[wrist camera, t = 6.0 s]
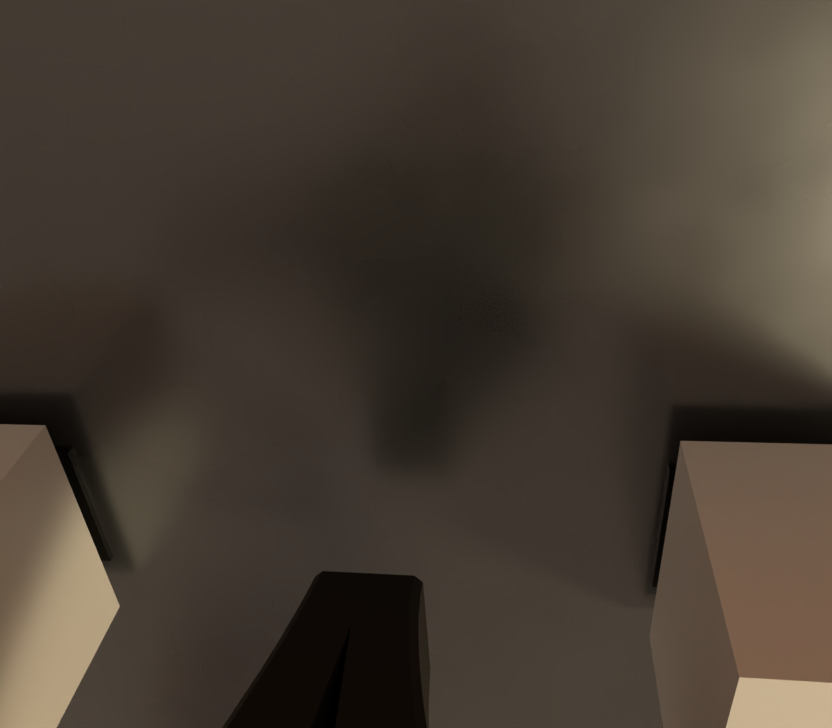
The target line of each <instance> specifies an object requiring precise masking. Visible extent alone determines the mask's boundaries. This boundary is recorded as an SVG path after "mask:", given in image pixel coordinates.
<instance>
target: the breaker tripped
mask: <svg viewBox="0 0 832 728" xmlns="http://www.w3.org/2000/svg"><path fill="white" fill-rule="evenodd" d="M119 607H120V606H119V603H118V601H117V598H116V596H115V593H114V591H113V588H112V586H111V584H110V581H109V579H108V576H107V574H106V571H105V569H104V567H103V564H102V562H101V559H100V557H99V554H98V552H97V550H96V547H95V545H94V542H93V540H92V537H91V535H90V532H89V530H88V528H87V525H86V523H85V520H84V518H83V515H82V513H81V511H80V508H79V506H78V503H77V501H76V498H75V496H74V493H73V491H72V489H71V486H70V484H69V481H68V479H67V476H66V474H65V472H64V469H63V467H62V464H61V462H60V459H59V457H58V455H57V452H56V450H55V447H54V445H53V442H52V440H51V437H50V435H49V433H48V430H47V428H46V425H14V424H0V728H57V726H58V724H59V722H60V720H61V718H62V716H63V714H64V713H65V711H66V709H67V707H68V705H69V703H70V701H71V699H72V697H73V695H74V693H75V691H76V689H77V688H78V686H79V684H80V682H81V680H82V678H83V676H84V674H85V672H86V670H87V668H88V666H89V665H90V663H91V661H92V659H93V657H94V655H95V653H96V651H97V649H98V647H99V645H100V643H101V641H102V640H103V638H104V636H105V634H106V632H107V630H108V628H109V626H110V624H111V622H112V620H113V618H114V617H115V615H116V613H117V611H118V609H119Z"/></svg>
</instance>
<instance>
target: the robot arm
mask: <svg viewBox="0 0 832 728" xmlns="http://www.w3.org/2000/svg"><path fill="white" fill-rule="evenodd" d="M429 686H430V657H429V646H428V634H427V622H426V611H425V599H424V588H423V582H422V581H421V580H419V579H418V578H417V577H415V576H414V575H394V574H373V573H353V572H333V571H322V572H320V573H319V574H318V575H317V576H315V578H314V580H313V582H312V583H311V585H310V587H309V589H308V591H307V593H306V595H305V596H304V598H303V600H302V602H301V604H300V605H299V607H298V609H297V611H296V612H295V614H294V616H293V618H292V619H291V621H290V623H289V624H288V626H287V628H286V629H285V631H284V633H283V634H282V636H281V638H280V639H279V641H278V643H277V644H276V646H275V648H274V649H273V651H272V652H271V654H270V656H269V657H268V659H267V660H266V662H265V664H264V665H263V667H262V668H261V670H260V671H259V673H258V674H257V676H256V677H255V679H254V680H253V682H252V683H251V685H250V686H249V688H248V689H247V691H246V692H245V694H244V695H243V697H242V698H241V700H240V701H239V703H238V705H237V706H236V708H235V709H234V711H233V712H232V714H231V715H230V717H229V718H228V720H227V721H226V722H225V724H224V725H223V727H222V728H429Z"/></svg>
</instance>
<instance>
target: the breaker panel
mask: <svg viewBox="0 0 832 728" xmlns="http://www.w3.org/2000/svg"><path fill="white" fill-rule="evenodd" d="M0 424H14V425H46V428H47V430H48V433H49V435H50V437H51V440H52V442H53V445H54V447H55V450H56V452H57V455H58V457H59V459H60V462H61V464H62V467H63V469H64V472H65V474H66V476H67V479H68V481H69V484H70V486H71V489H72V491H73V493H74V496H75V498H76V501H77V503H78V506H79V508H80V511H81V513H82V515H83V518H84V520H85V523H86V525H87V528H88V530H89V532H90V535H91V537H92V540H93V542H94V545H95V547H96V550H97V552H98V554H99V557H100V559H101V562H102V564H103V567H104V569H105V571H106V574H107V576H108V579H109V581H110V584H111V586H112V588H113V591H114V593H115V596H116V598H117V601H118V603H119V606H120V607H119V609H118V611H117V613H116V615H115V617H114V618H113V620H112V622H111V624H110V626H109V628H108V630H107V632H106V634H105V636H104V638H103V640H102V641H101V643H100V645H99V647H98V649H97V651H96V653H95V655H94V657H93V659H92V661H91V663H90V665H89V666H88V668H87V670H86V672H85V674H84V676H83V678H82V680H81V682H80V684H79V686H78V688H77V689H76V691H75V693H74V695H73V697H72V699H71V701H70V703H69V705H68V707H67V709H66V711H65V713H64V714H63V716H62V718H61V720H60V722H59V724H58V726H57V728H222V727H223V725H224V724H225V722H226V721H227V720H228V718H229V717H230V715H231V714H232V712H233V711H234V709H235V708H236V706H237V705H238V703H239V701H240V700H241V698H242V697H243V695H244V694H245V692H246V691H247V689H248V688H249V686H250V685H251V683H252V682H253V680H254V679H255V677H256V676H257V674H258V673H259V671H260V670H261V668H262V667H263V665H264V664H265V662H266V660H267V659H268V657H269V656H270V654H271V652H272V651H273V649H274V648H275V646H276V644H277V643H278V641H279V639H280V638H281V636H282V634H283V633H284V631H285V629H286V628H287V626H288V624H289V623H290V621H291V619H292V618H293V616H294V614H295V612H296V611H297V609H298V607H299V605H300V604H301V602H302V600H303V598H304V596H305V595H306V593H307V591H308V589H309V587H310V585H311V583H312V582H313V580H314V578H315V576H317V575H318V574H319V573H320V572H322V571H333V572H353V573H373V574H394V575H414V576H415V577H417V578H418V579H419V580H421V581H422V582H423V588H424V599H425V611H426V622H427V634H428V646H429V657H430V686H429V728H663V722H662V716H661V709H660V703H659V696H658V689H657V683H656V676H655V669H654V663H653V656H652V650H651V643H650V636H649V635H650V629H651V623H652V616H653V610H654V604H655V597H656V591H657V585H658V579H659V572H660V566H661V560H662V554H663V547H664V541H665V535H666V528H667V522H668V516H669V510H670V503H671V497H672V491H673V484H674V478H675V472H676V466H677V459H678V453H679V447H680V441H710V442H751V443H792V444H832V0H0Z"/></svg>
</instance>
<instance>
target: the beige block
mask: <svg viewBox="0 0 832 728" xmlns="http://www.w3.org/2000/svg"><path fill="white" fill-rule="evenodd" d="M649 636H650V643H651V650H652V656H653V663H654V669H655V676H656V683H657V689H658V696H659V703H660V709H661V716H662V722H663V728H832V444H792V443H751V442H710V441H680V447H679V453H678V459H677V466H676V472H675V478H674V484H673V491H672V497H671V503H670V510H669V516H668V522H667V528H666V535H665V541H664V547H663V554H662V560H661V566H660V572H659V579H658V585H657V591H656V597H655V604H654V610H653V616H652V623H651V629H650V635H649Z"/></svg>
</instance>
